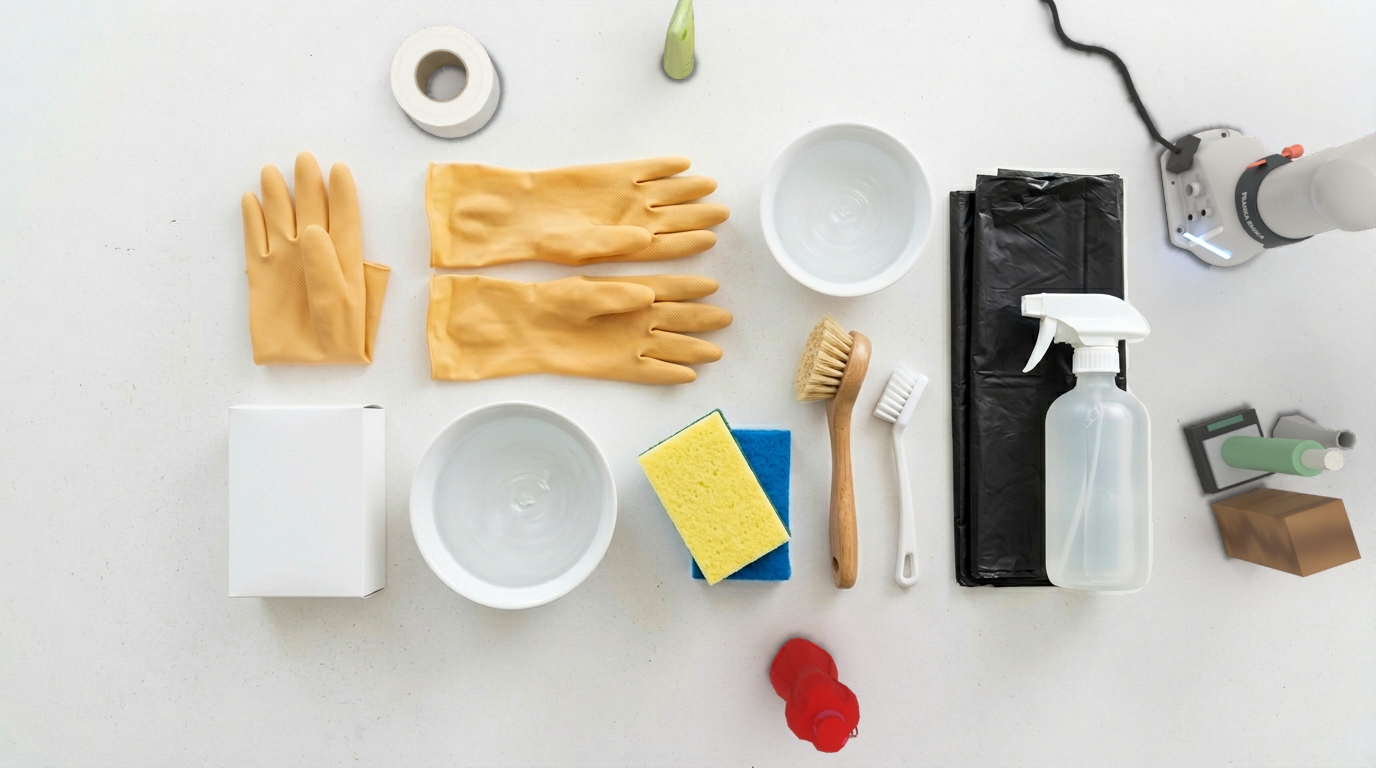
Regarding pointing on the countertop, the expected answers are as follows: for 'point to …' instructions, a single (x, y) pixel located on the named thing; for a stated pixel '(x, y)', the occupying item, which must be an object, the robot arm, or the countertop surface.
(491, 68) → the tape roll
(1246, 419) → the scale
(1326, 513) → the brown wooden block
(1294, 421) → the flask
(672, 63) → the tube
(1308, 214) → the robot arm
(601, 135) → the countertop surface
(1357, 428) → the countertop surface
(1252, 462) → the green bottle
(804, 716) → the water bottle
